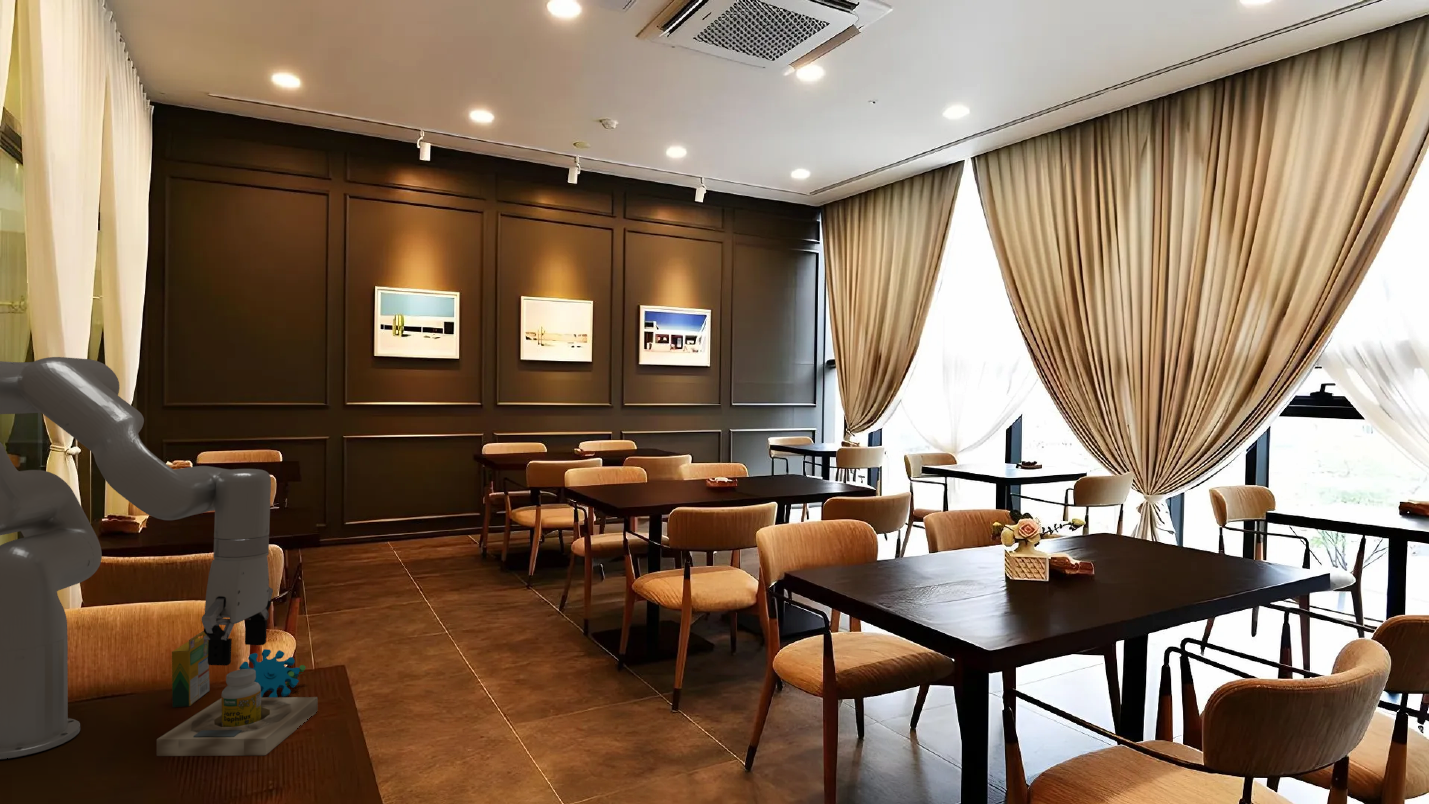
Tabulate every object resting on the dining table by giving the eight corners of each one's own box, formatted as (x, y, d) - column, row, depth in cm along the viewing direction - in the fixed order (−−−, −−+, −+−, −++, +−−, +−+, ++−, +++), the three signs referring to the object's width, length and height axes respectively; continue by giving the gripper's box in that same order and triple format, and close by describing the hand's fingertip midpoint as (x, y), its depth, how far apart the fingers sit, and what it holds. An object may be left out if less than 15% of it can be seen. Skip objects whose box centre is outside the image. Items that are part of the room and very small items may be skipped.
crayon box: (192, 691, 140) (192, 628, 140) (210, 690, 141) (210, 627, 141) (170, 707, 133) (170, 640, 133) (189, 706, 134) (190, 639, 134)
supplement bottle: (265, 724, 127) (265, 665, 127) (255, 738, 122) (255, 677, 122) (228, 727, 125) (228, 668, 125) (216, 742, 120) (216, 680, 120)
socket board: (156, 756, 115) (156, 738, 115) (222, 712, 131) (222, 696, 131) (265, 755, 116) (265, 737, 116) (317, 711, 132) (317, 695, 132)
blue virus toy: (243, 701, 132) (237, 649, 138) (231, 719, 135) (226, 667, 140) (311, 692, 140) (303, 644, 146) (299, 709, 143) (291, 661, 148)
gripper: (248, 536, 132) (245, 637, 132) (181, 557, 115) (177, 672, 115) (293, 538, 132) (290, 638, 132) (233, 559, 115) (229, 674, 115)
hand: (238, 654), depth 123 cm, fingers open, 9 cm apart
